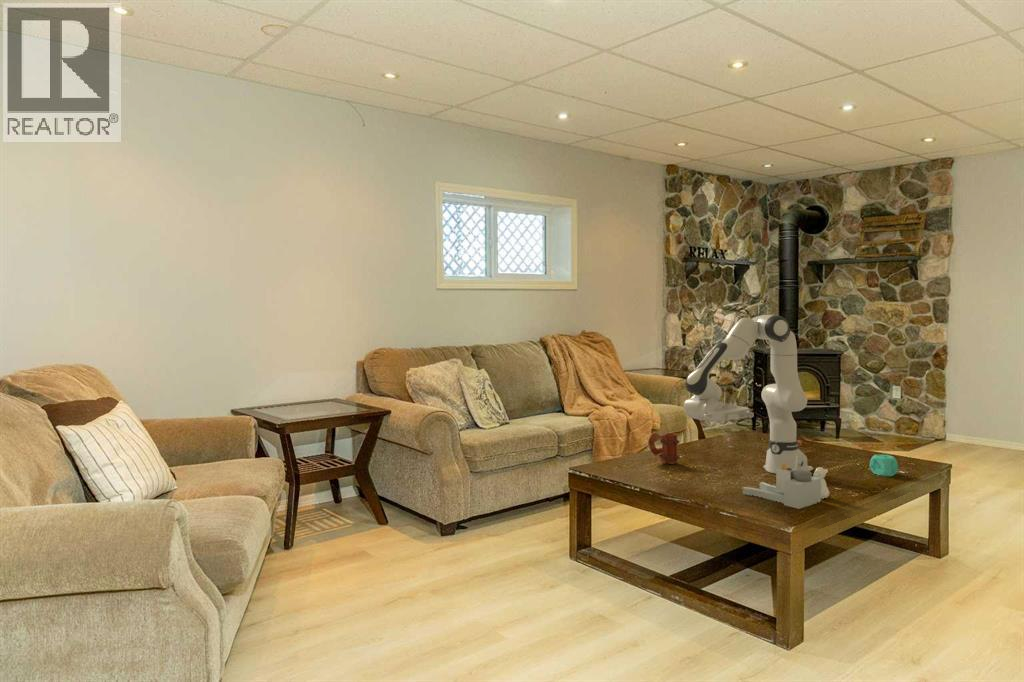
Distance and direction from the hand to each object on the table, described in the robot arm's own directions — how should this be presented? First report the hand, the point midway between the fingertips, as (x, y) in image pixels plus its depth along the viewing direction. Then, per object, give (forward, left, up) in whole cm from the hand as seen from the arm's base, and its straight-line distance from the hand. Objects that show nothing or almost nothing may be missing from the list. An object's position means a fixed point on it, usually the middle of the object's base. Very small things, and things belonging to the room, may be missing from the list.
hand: (745, 416), depth 276 cm
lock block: (0, +18, -30) cm, 35 cm away
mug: (-8, -50, -30) cm, 59 cm away
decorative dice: (-68, +23, -30) cm, 78 cm away
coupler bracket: (0, +16, -30) cm, 34 cm away
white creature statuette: (-13, +24, -30) cm, 41 cm away
